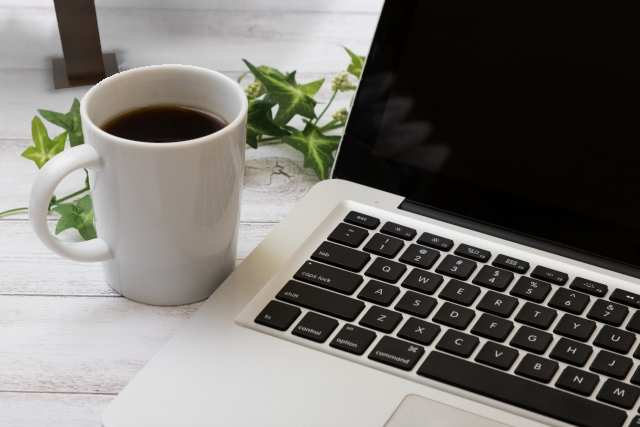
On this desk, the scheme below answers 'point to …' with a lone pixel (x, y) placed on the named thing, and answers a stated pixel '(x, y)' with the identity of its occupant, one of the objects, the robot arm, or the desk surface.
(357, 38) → the desk surface
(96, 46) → the brown post on base
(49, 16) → the desk surface
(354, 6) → the desk surface
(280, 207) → the desk surface
